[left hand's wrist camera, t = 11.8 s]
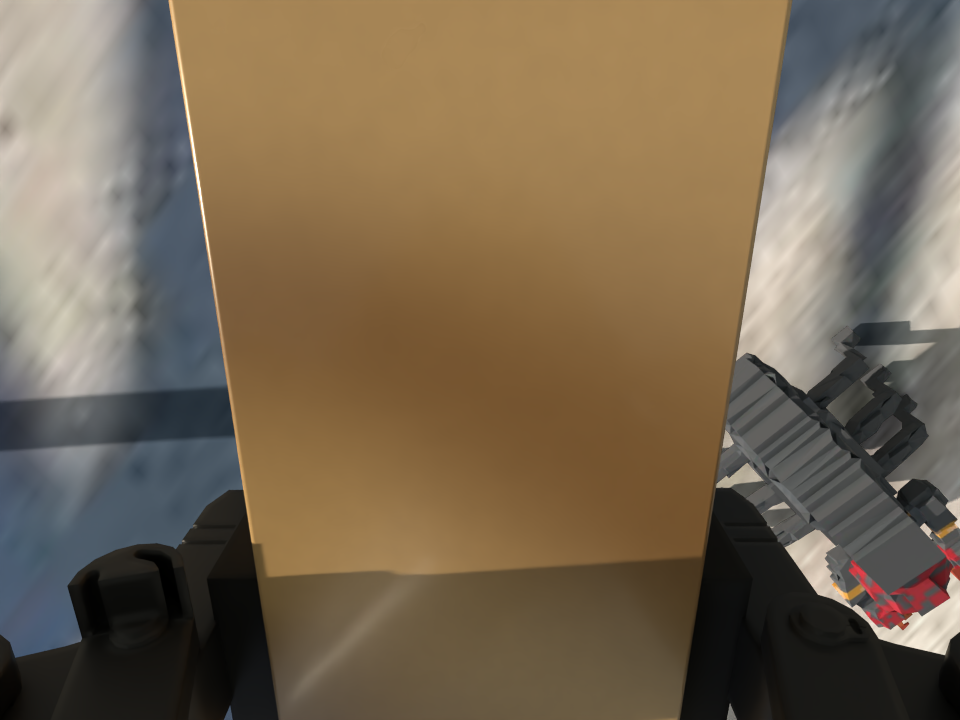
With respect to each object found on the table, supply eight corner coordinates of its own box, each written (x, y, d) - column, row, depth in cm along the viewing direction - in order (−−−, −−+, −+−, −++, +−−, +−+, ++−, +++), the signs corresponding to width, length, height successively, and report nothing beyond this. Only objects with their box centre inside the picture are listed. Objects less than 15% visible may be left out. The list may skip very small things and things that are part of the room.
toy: (755, 219, 36) (1005, 315, 19) (1000, 501, 42) (1350, 762, 25) (580, 377, 39) (656, 579, 22) (832, 615, 46) (1040, 911, 29)
